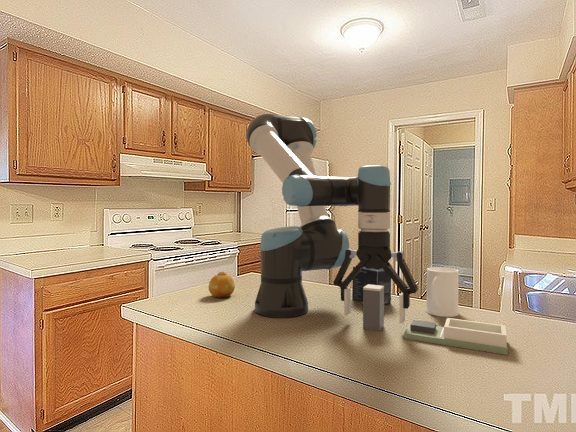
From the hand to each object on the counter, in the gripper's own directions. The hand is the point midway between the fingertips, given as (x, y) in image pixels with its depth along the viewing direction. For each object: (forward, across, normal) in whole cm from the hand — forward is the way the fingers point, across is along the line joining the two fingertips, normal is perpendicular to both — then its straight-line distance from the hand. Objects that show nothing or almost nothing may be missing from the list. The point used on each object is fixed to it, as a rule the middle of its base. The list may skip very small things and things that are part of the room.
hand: (373, 317), depth 90 cm
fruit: (+2, -52, +8) cm, 53 cm away
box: (+3, -7, +24) cm, 25 cm away
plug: (+2, 0, 0) cm, 2 cm away
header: (+1, +22, 0) cm, 22 cm away
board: (+2, +18, 0) cm, 18 cm away
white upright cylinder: (+3, +13, +20) cm, 24 cm away
